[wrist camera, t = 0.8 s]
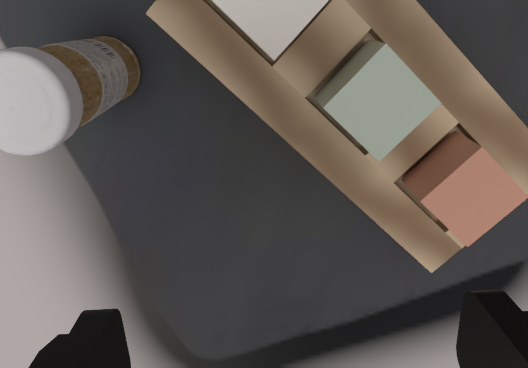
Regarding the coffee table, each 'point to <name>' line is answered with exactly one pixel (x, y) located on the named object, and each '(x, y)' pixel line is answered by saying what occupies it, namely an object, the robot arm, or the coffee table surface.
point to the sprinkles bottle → (60, 90)
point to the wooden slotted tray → (330, 131)
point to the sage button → (377, 98)
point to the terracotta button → (464, 187)
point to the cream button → (271, 20)
